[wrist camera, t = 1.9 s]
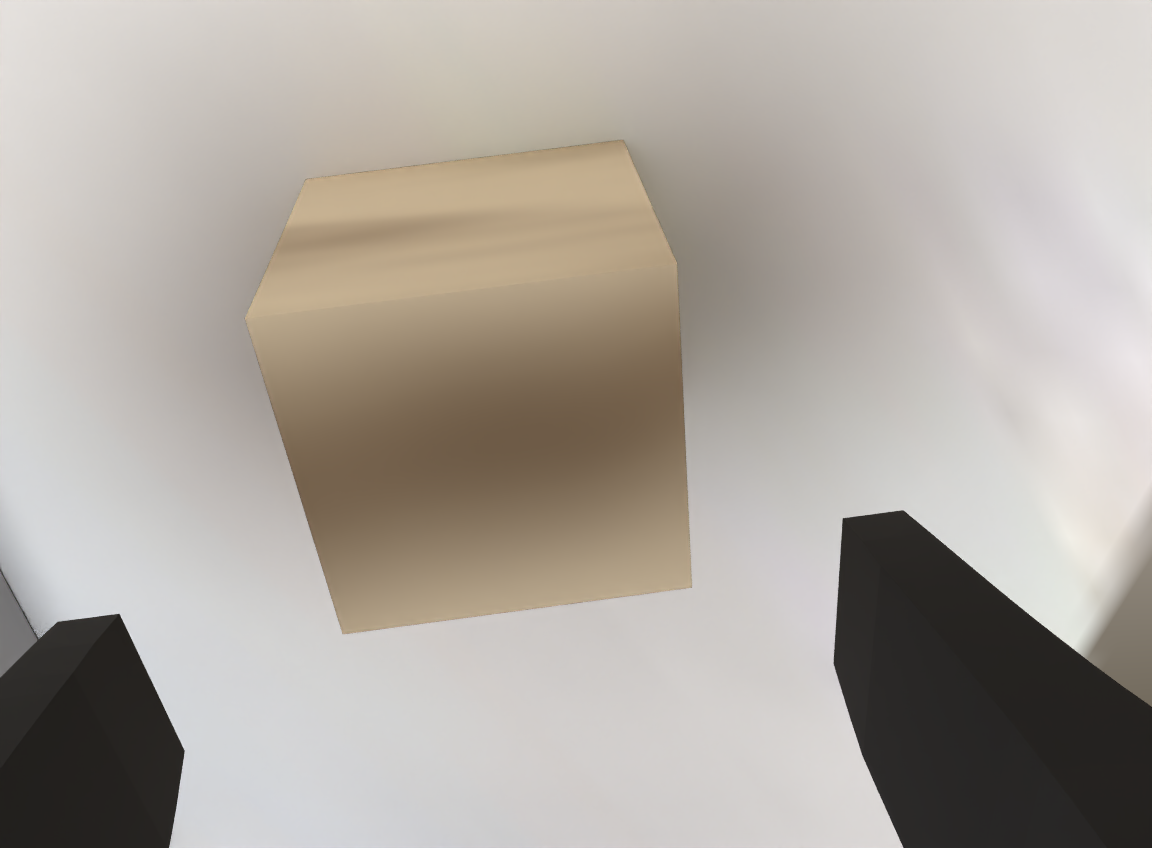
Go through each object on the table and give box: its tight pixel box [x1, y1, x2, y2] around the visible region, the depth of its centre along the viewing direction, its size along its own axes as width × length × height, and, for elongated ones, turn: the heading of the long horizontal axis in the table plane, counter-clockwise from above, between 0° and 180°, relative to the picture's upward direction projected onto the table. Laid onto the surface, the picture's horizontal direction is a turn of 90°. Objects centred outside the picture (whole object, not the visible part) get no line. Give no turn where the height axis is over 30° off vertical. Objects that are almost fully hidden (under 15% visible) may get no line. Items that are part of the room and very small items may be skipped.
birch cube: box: [245, 140, 692, 634], centre depth 15 cm, size 5×5×5 cm
